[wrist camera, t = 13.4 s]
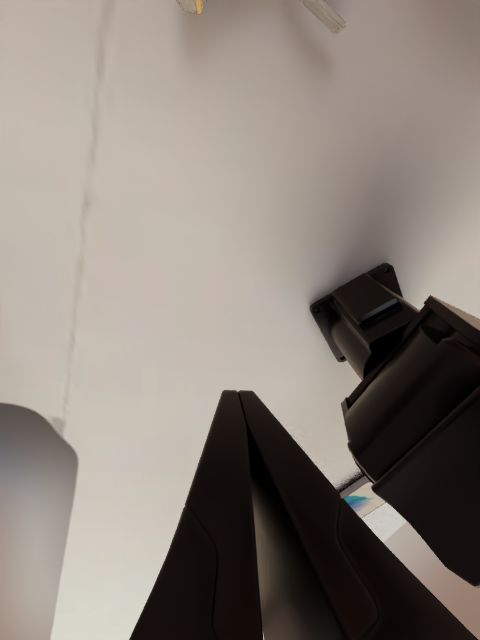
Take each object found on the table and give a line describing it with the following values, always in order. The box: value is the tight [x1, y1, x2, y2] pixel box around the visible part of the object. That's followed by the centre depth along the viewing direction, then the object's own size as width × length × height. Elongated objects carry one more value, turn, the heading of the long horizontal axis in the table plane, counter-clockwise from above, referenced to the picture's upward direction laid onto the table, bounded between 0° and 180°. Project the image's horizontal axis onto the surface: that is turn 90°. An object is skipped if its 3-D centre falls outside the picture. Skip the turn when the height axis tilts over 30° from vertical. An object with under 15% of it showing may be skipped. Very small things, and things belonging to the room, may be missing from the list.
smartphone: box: [339, 476, 386, 518], centre depth 38 cm, size 7×1×15 cm
